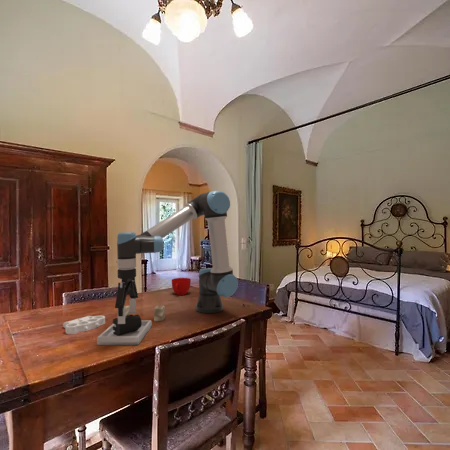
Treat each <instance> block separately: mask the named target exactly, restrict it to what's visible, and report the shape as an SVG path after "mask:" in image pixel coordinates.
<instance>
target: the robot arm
mask: <svg viewBox="0 0 450 450" xmlns="http://www.w3.org/2000/svg"><path fill="white" fill-rule="evenodd" d="M230 208H231V200H230V198H229V196H228V195H227V194H226V193H225V192H224V191H222V190H211V191H207V192H203V193H201V194H198V195H197V196H195V197H194V198H192V199H191V200H190V201H188V202H187V203H185V205H184V207H182V208H180V209H179V210H177V211H176V212H174V213H172V214H171V215H169V216H168V217H166V218H165V219H163V220H162V221H160V222H158V223H157V224H155V225H153V226H152V227H150V228H148V229H147V230H145V231H144V232H142V233H140V234H136V232H133V231H132V232H131V231H129V232H126V231H125V232H119V233H117V236H116V237H117V238H116V239H117V241H116V245H117V246H116V247H117V248H116V250H117V252H116V253H117V260H116V263H117V268H118V269H117V278H118V279H120V280H121V282H118V284H117V291H116V292H117V293H116V297H115V298H116V300H115V306H114V308H115V309H118V324H125V307H124V306H126V305H125V303H126V300H127V295H129V299H128V301H129V303H128V304H129V305H128V306H129V312H130V314H136V313H137V299H139V295H138V289H137V285H136V284H137V283H136V277H137V268H136V267H137V255H138V254H156V253H161V252H162V251H163V250H164V240H163V238H165V237H167V236H168V235H170V234H171V233H173V232H175V231H176V230H178V229H179V228H181V227H182V226H184V225H185V224H187V223H188V222H189V221H191V220H196V219H198V218H200V217H202V216H203V217H204V220H206V221H207V225H208V234H209V245H210V253H211V255H210V256H211V262H212V267H209V268H207V267H206V268H201V269H199V272H198V298H197V301H196V304H195V311H196V312H198V313H203V314H215V313H220V312H222V311H223V310H224V304H223V301H222V298H221V297H223V298H224V297H225V298H228V297H232V296H233V295H234V294H235V293H236V291H237V289H238V286H239V280H238V278H237V277H236V275H235V274H234V271H233V270H234V269H233V267H231V266H230V262H229V260H230V259H229V250H228V239H227V233H226V231H227V230H226V219H227V217H228V212H229V209H230Z"/></svg>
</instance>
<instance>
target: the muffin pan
mask: <svg viewBox="0 0 450 450" xmlns="http://www.w3.org/2000/svg"><path fill="white" fill-rule="evenodd" d="M102 325H106V316H105V315H94V316H93V315H86V316H84V317H83V316H82V317H79V318H75V319H72V320H69V321H65V322H63V324H62V327H63V328H64V329H65V334H66V335H75V334H78V333H85V332H87V331H90V330H92V329H93V330H94V329H97V328H99V327H100V326H102Z"/></svg>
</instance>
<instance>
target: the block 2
mask: <svg viewBox="0 0 450 450" xmlns="http://www.w3.org/2000/svg"><path fill="white" fill-rule="evenodd" d="M165 311H166V307H165V305H156V306H155V307H154V309H153V321H154V322H163V320H165V317H166V314H165V313H166V312H165Z"/></svg>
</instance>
